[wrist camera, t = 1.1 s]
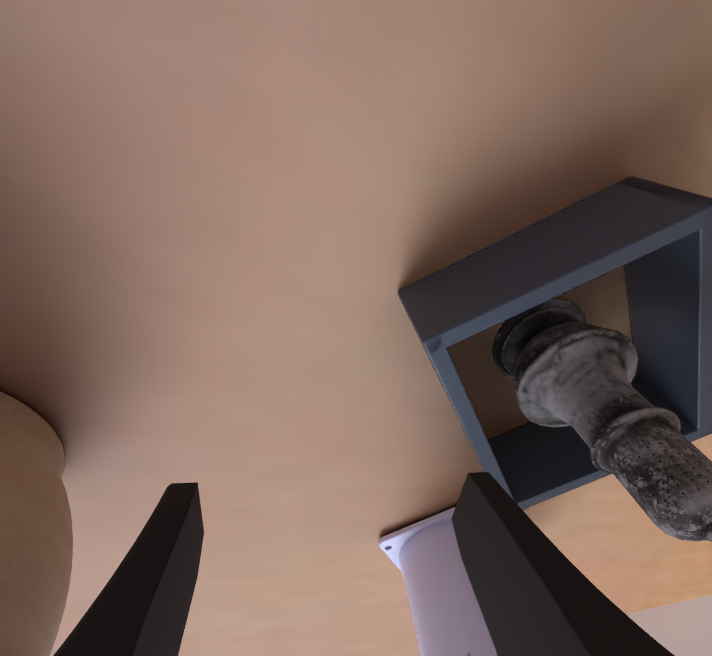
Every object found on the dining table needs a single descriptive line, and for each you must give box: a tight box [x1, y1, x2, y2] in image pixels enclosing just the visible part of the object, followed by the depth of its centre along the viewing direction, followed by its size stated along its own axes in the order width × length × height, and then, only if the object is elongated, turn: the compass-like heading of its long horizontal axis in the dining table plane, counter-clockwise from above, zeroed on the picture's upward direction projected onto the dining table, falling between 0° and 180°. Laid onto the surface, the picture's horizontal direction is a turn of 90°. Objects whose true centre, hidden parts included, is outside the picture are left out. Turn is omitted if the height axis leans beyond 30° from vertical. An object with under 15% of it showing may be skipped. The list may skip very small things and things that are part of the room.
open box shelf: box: [398, 176, 712, 510], centre depth 20 cm, size 14×12×4 cm
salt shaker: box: [492, 299, 712, 541], centre depth 17 cm, size 6×6×12 cm
